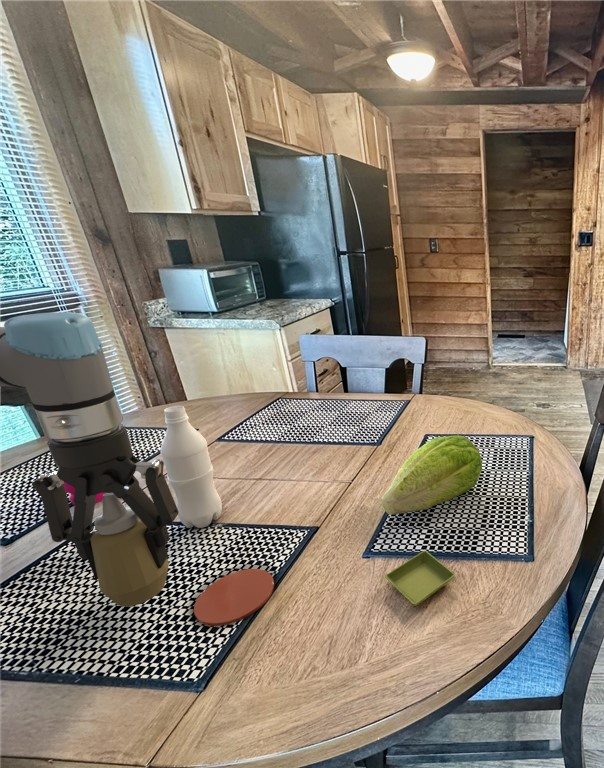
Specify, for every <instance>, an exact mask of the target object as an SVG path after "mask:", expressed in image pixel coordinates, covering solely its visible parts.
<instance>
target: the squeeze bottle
mask: <svg viewBox="0 0 604 768" xmlns="http://www.w3.org/2000/svg"><path fill="white" fill-rule="evenodd" d="M93 524H94V525H93V526H94V528H95V531H96V532H95V533H94V534H93V536H92V537H91V539H90V540H91V546H92V551H93V556H94V561H95V566H96V571H97V576H98V579H97V581H98V586H99V591H100V593H101V594H102V595H104V596H105V597H107V598H108V599H109V600H110V601H112V602H113V603H114V604H116V605H117V606H119V607H122V608H129V607H130V608H131V607H135V606H138V605H142V604H144V603H145V602H148V601H150V600H151V599H153V598H154V597H156V596H157V595H159V594H160V592H161V591H162V590H163V589H164V588H165V585H166V581H167V577H168V571H169V566H170V561H169V559H168V558H167V559H166V561H165V562H164V564H163V566H162V567H161V568H159V569H158V567H157V565H156V563H155V561H154V559H153V557H152V555H151V553H150V551H149V549H148V546H147V543H146V540H145V537H144V533H145V532H146V530H147V529H148V528H147V526H146V525H145V524H144V523H143V522H142V521H141V520H140V519H139V517H138V516H137V515H136V514H135V513H134V512H133V511H132V510H131V508H130V507H129V506H128V505H126V506H125V505H124V504H123V502H122V501H121V499H119V498H117V497H116V496H115V494H114V493H105V494H104V495H103V500H102V513H101V514H100V515H98V516H97V517H96V518H95V519H94V520H93Z"/></svg>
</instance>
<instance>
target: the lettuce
mask: <svg viewBox="0 0 604 768" xmlns="http://www.w3.org/2000/svg"><path fill="white" fill-rule="evenodd" d="M482 471H483V461H482V456H481V452H480V451H479V449H478V447H476V445H475V444H474V443H473V442H472V441H471V440H470V439H468V438H467V437H466V436H463V435H460V434H459V435H446V436H438V437H434V438H432V439H431V440H429V441H427V442H425V443H424V444H423V445H421V446H420V447H418V448H417V449H415V451H414V452H413V453H412V454H411V455H410V456H409V457H408V458H407V459H406V460H405V461H404V463H403V464H402V465H401V467H400V468H399V470H398V471H397V473H396V474H395V476H394V478H393V480H392V482H391V484H390V486H389V487H388V489H387V490H386V491H385V492H384V494H383V495H382V496H381V498H380V504H381V507H382V508H383V510H384V512H385V513H387V515H391V516H392V515H400V514H405V513H413V512H419V511H426V510H428V509H431V508H432V507H435V506H436V505H438V504H442V503H445V502H448V501H451V500H453V499H455V498H457V497H459V496H461V495H463V494H465V493H467V492H469V491H470V490H471V489H473V488H474V487H475V486H476V485H477V483H478V481H479V479H480V476H481V474H482Z"/></svg>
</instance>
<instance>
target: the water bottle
mask: <svg viewBox="0 0 604 768" xmlns="http://www.w3.org/2000/svg"><path fill="white" fill-rule="evenodd" d="M163 412H164V416H165V418H164V419H165V420H164V423H165V424H166V426H167V427H166V428H167V429H166V432H165V435H164V437H163V439H162V443H161V445H160V456H161V458H162V461H163V462H164V467H165V471H166V474H167V482H168V485H170V487H171V488H172V490H173V492H174V495H175V500H176V506H177V509H178V511H179V513H178V515H177V517H178V519H179V521H180V523H182V525H183V526H184V527H185V528H187V529H191V528H193V527H196V528H197V529H203V528H206V527H208V526H209V525H210V524H211V523H212V521H217V520H219V518H220V517H221V514H222V509H223V504H222V500H221V496H220V495H219V493H218V491H217V488H216V486H215V482H214V481H215V480H214V465H213V464H212V461H211V457H210V453H209V449H208V442H207V440H206V438H205V437H204V436H203V435H202V434H201V433H200V432H199V431H198V430H197V429H196V428H194V426H192V424H191V423H190V421H189V419H190V417H189V415H188V414H187V412H186V408H185V406H183V405H174V406H169V407H166V408H164V410H163Z"/></svg>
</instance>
